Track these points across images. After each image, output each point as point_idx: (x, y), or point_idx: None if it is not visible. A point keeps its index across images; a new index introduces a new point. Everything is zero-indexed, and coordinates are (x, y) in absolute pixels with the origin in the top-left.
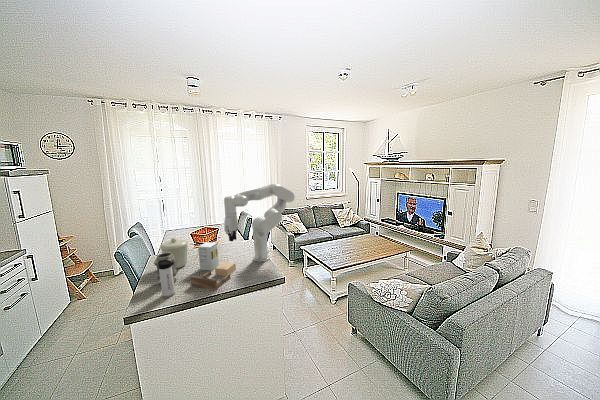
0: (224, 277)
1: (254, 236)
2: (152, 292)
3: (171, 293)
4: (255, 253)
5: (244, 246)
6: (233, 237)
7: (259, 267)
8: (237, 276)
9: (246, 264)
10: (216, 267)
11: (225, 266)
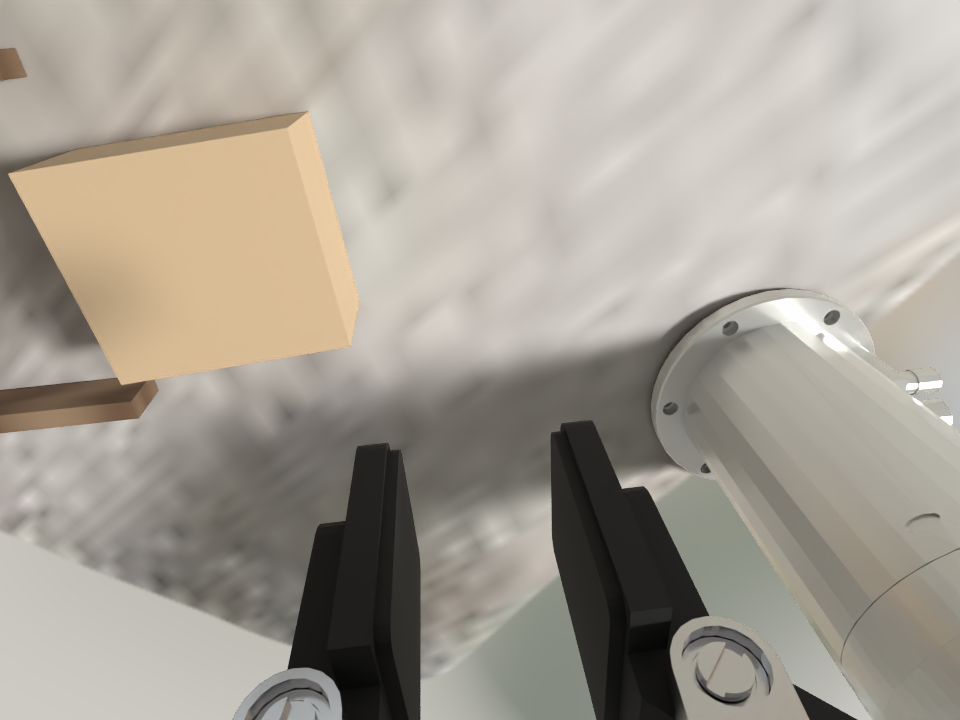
0: (36, 412)
1: (952, 677)
2: None
3: None
4: (738, 412)
5: None
6: (568, 541)
7: (523, 491)
8: (237, 428)
9: (546, 325)
10: (46, 174)
11: (176, 291)
